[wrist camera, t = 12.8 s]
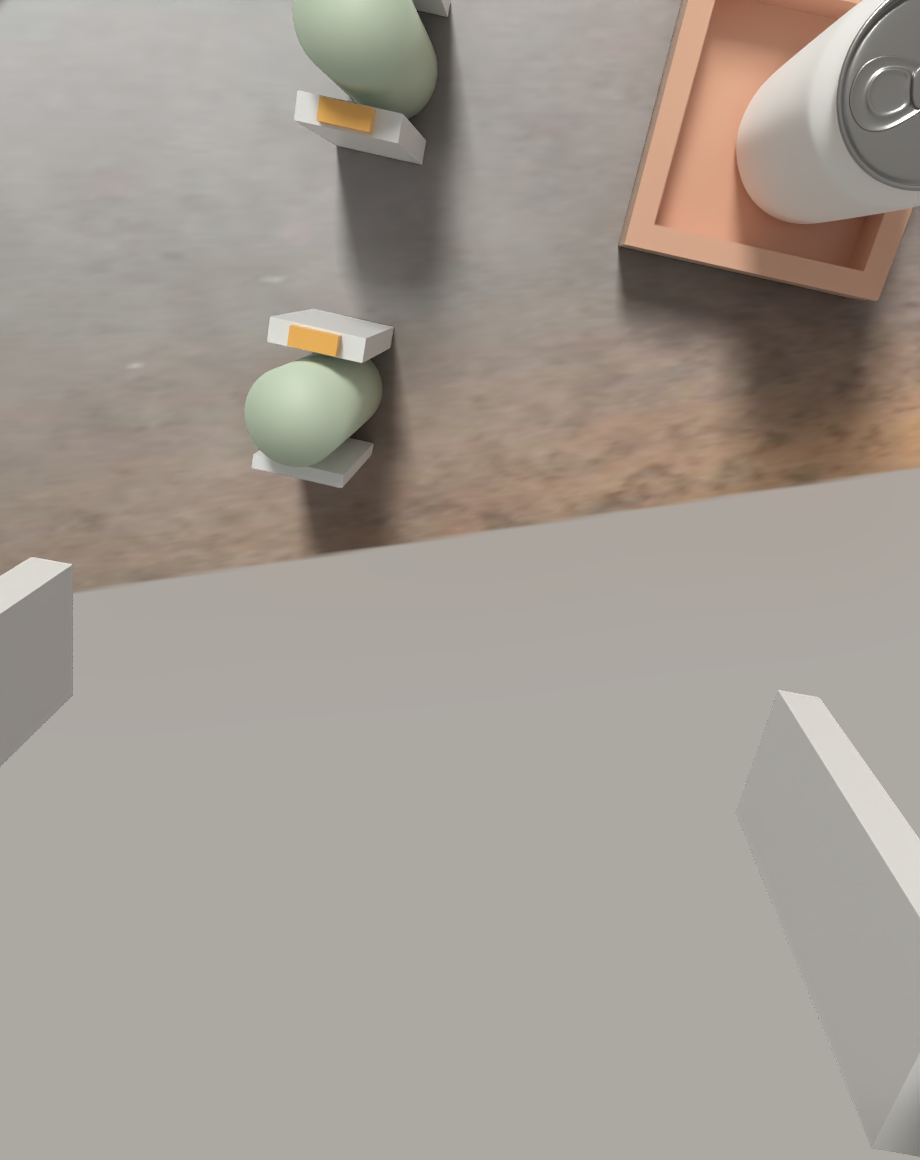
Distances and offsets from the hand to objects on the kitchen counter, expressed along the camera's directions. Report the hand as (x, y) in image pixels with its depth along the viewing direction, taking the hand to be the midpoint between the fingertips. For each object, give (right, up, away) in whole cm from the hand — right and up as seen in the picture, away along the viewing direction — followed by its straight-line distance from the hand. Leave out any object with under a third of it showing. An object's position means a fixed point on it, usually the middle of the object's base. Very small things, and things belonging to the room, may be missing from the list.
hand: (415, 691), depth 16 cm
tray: (+15, +21, +21) cm, 33 cm away
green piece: (-2, +24, +21) cm, 32 cm away
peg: (-5, +12, +26) cm, 29 cm away
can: (+16, +21, +20) cm, 33 cm away
